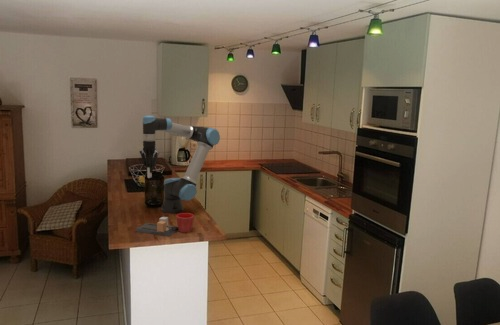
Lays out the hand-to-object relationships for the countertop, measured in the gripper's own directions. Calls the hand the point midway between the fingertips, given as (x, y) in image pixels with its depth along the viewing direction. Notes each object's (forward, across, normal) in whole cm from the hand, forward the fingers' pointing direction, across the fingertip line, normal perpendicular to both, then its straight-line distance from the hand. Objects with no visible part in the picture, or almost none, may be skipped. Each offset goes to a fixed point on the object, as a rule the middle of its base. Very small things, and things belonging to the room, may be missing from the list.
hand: (149, 177), depth 265 cm
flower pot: (+30, +28, -6) cm, 41 cm away
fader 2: (+27, +18, -17) cm, 37 cm away
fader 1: (+27, +15, -9) cm, 32 cm away
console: (+29, +13, -13) cm, 35 cm away
